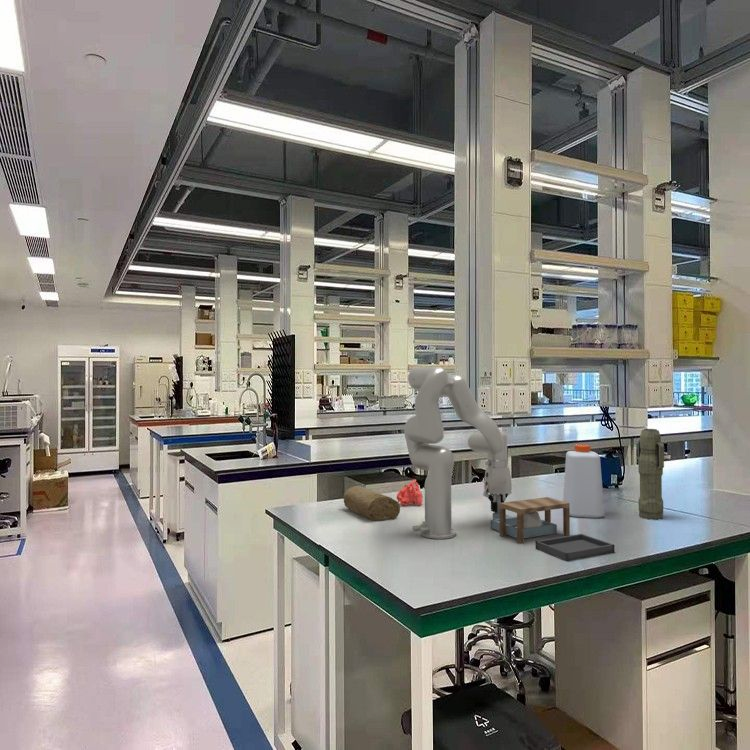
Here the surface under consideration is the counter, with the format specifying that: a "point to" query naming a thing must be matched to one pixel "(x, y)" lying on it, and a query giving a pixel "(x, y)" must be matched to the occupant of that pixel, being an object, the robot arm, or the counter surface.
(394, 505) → the core sample
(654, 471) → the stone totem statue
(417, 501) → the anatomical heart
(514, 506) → the small wooden table
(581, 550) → the tray
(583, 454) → the plastic bottle
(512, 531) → the sliding frame
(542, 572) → the counter surface
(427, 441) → the robot arm
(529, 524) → the grey rock
